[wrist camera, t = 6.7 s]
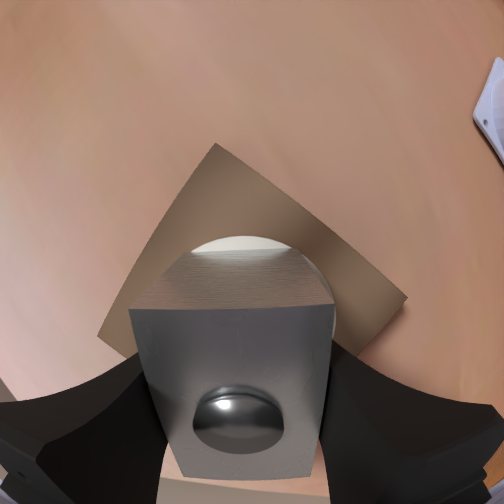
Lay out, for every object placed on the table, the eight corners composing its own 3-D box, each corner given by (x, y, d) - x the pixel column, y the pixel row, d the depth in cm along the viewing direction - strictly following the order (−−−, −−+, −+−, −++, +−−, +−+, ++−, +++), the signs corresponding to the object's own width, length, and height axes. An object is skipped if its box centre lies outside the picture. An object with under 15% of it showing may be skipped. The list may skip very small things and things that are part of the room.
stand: (390, 283, 14) (409, 299, 12) (265, 413, 16) (266, 438, 14) (221, 149, 12) (214, 141, 10) (112, 319, 14) (95, 337, 12)
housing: (294, 386, 13) (311, 482, 7) (203, 388, 13) (182, 482, 7) (297, 247, 11) (338, 309, 5) (184, 252, 11) (122, 314, 5)
